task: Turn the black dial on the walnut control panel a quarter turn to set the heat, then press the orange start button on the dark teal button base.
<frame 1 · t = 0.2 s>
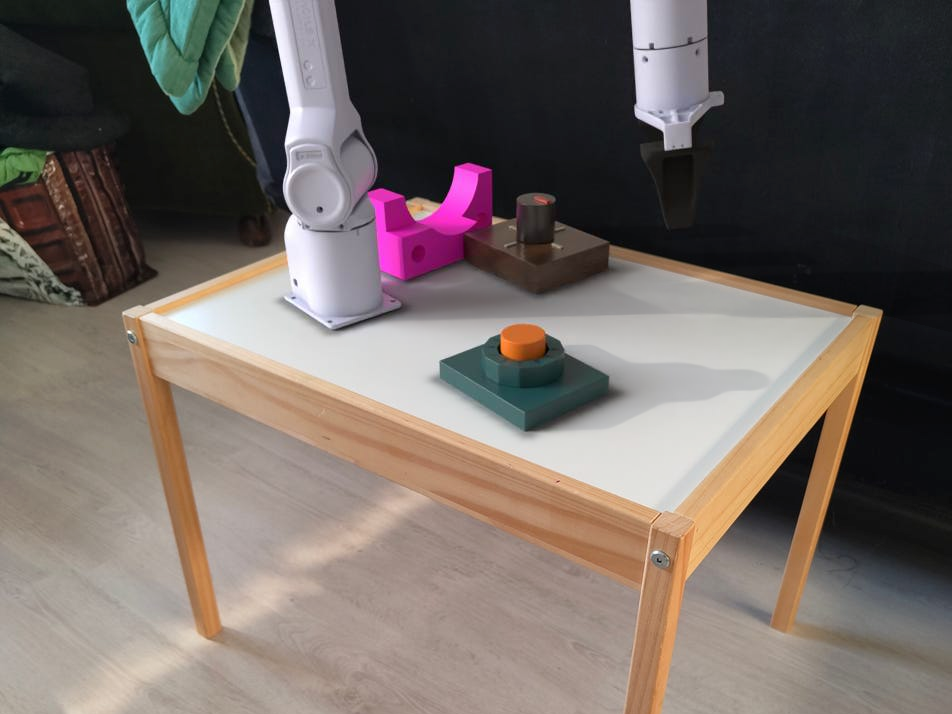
hand: (677, 211, 78), 10 cm above the table, tool pointing down, fingers open, 7 cm apart
button base: (522, 386, 74), on the table
start button: (523, 343, 72), point 4 cm above the table, slide at 0.1 cm
toy block: (439, 254, 98), on the table, touching dial panel
dial panel: (534, 264, 95), on the table
heat dial: (535, 216, 92), point 5 cm above the table, hinge at 0.0°
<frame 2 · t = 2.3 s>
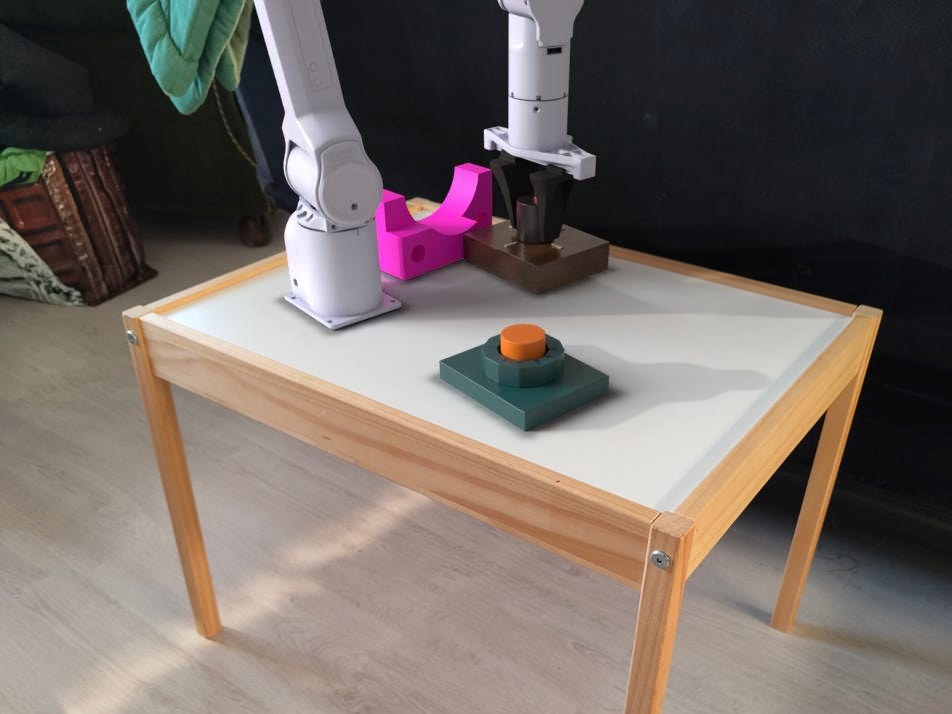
hand: (535, 232, 93), 4 cm above the table, tool pointing down, fingers closed on heat dial, 4 cm apart
heat dial: (535, 216, 92), point 5 cm above the table, hinge at 0.0°, touching gripper
everything else where it was.
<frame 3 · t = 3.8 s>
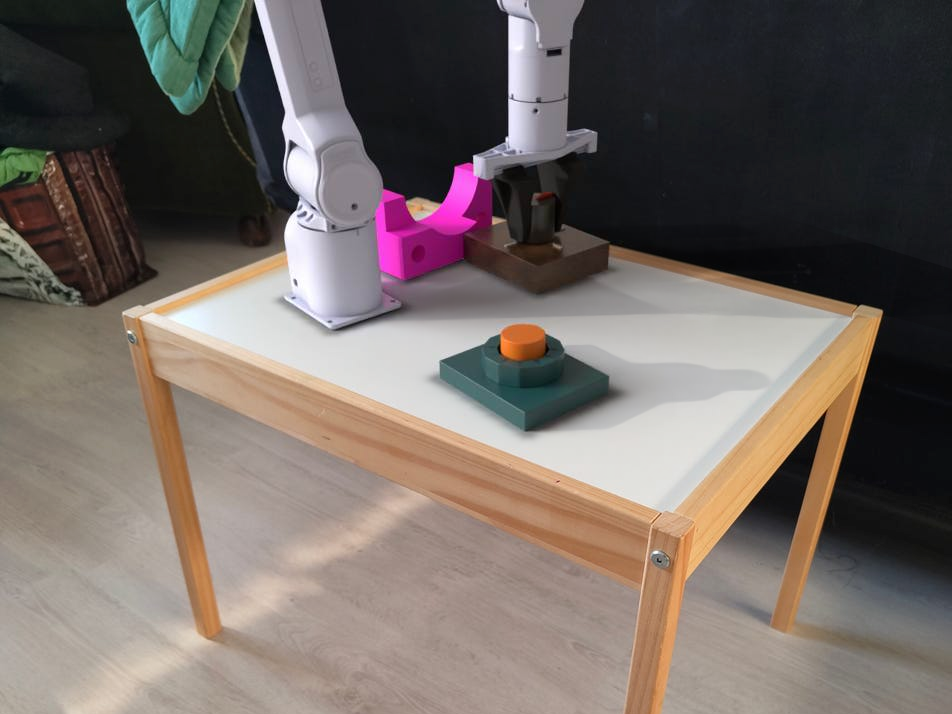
hand: (535, 234, 94), 3 cm above the table, tool pointing down, fingers closed on heat dial, 4 cm apart
heat dial: (535, 216, 92), point 5 cm above the table, hinge at 89.5°, touching gripper
everything else where it was.
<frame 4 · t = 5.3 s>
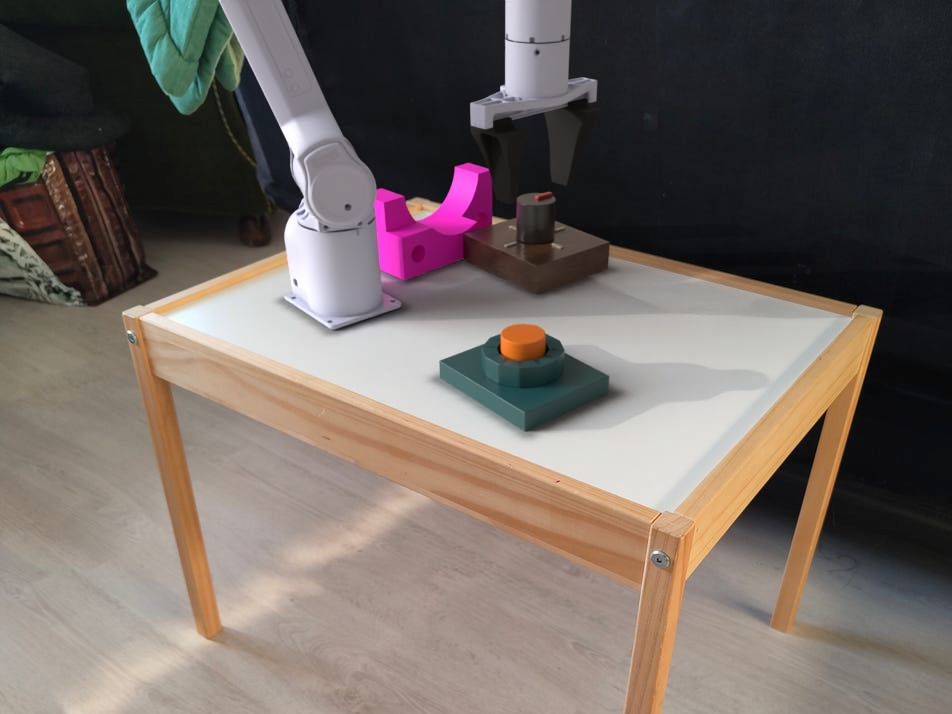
hand: (534, 192, 87), 9 cm above the table, tool pointing down, fingers open, 7 cm apart
heat dial: (535, 216, 92), point 5 cm above the table, hinge at 89.4°
everything else where it was.
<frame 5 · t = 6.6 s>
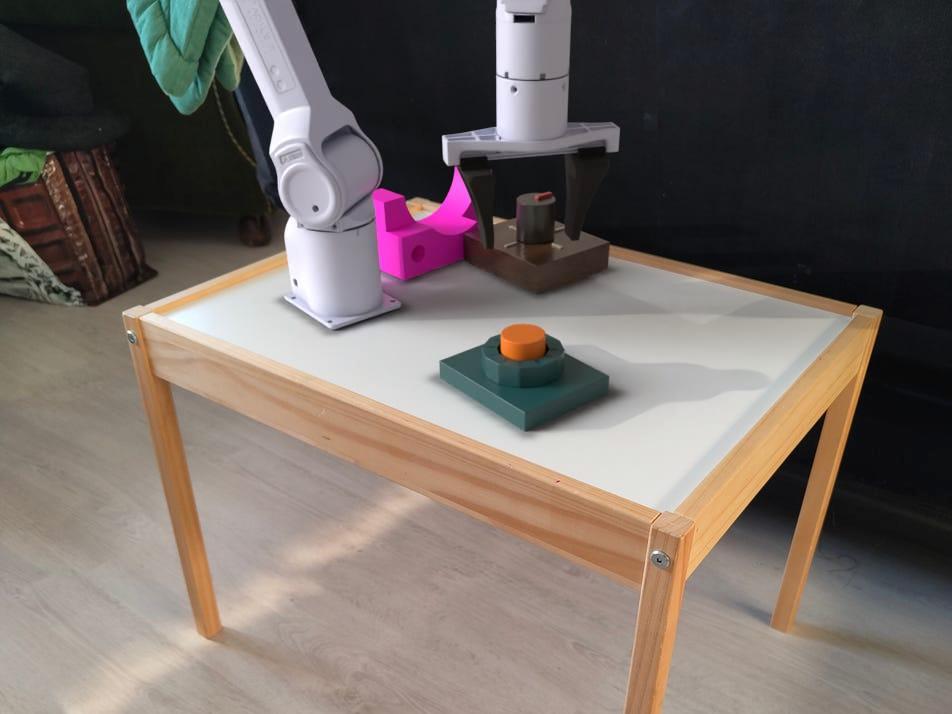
hand: (530, 241, 78), 8 cm above the table, tool pointing down, fingers open, 7 cm apart
nothing on the table moved.
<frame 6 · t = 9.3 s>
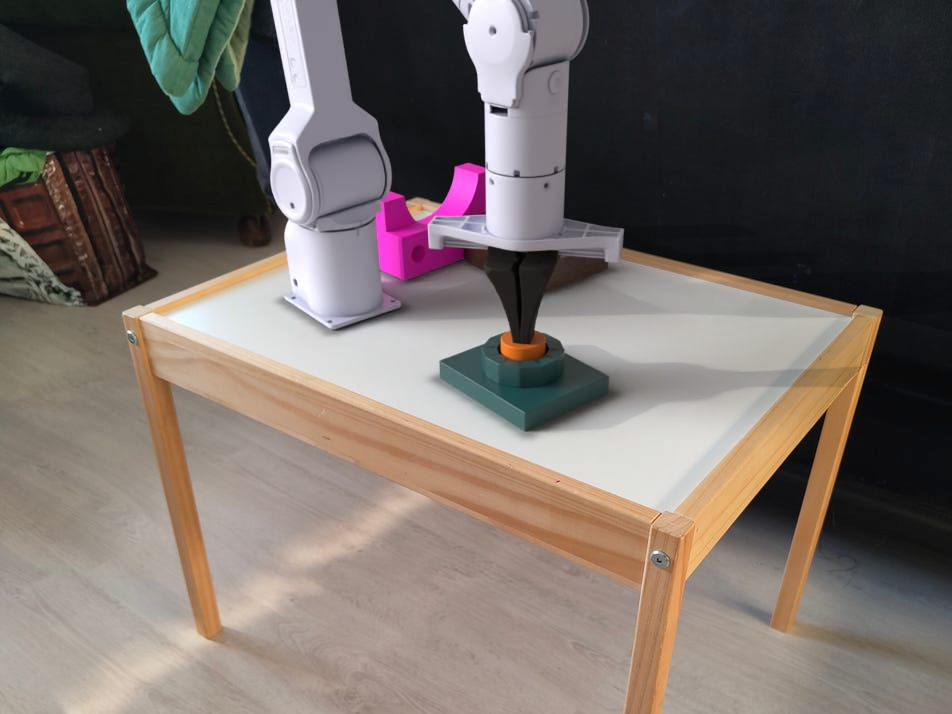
hand: (523, 338, 72), 4 cm above the table, tool pointing down, fingers closed, pressing on start button
start button: (523, 347, 72), point 4 cm above the table, slide at -0.3 cm, touching gripper
everything else where it was.
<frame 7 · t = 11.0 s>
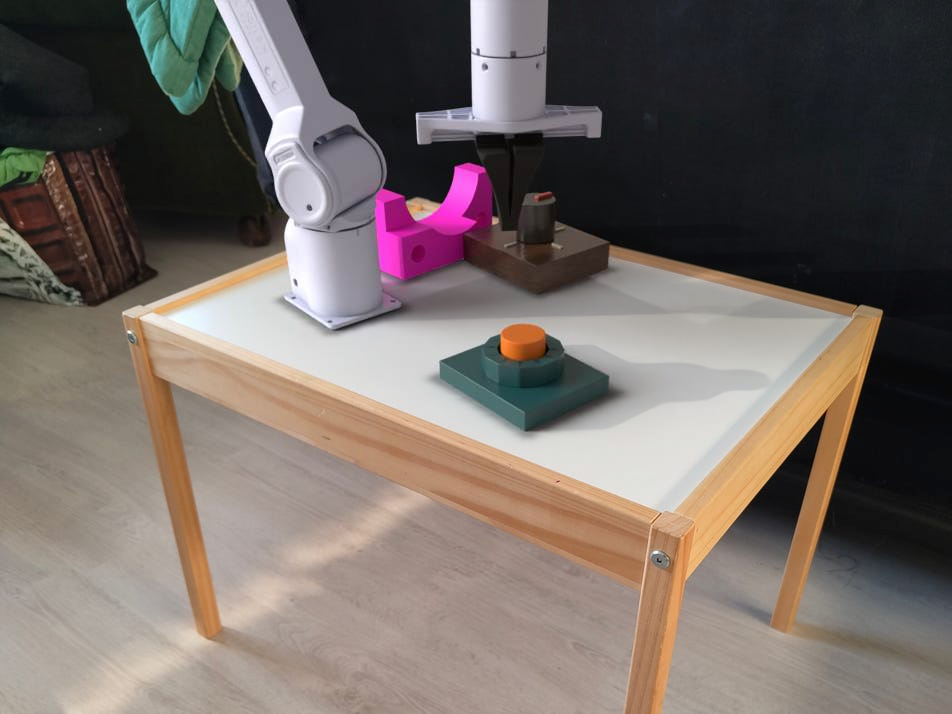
hand: (508, 227, 76), 10 cm above the table, tool pointing down, fingers closed
start button: (523, 343, 72), point 4 cm above the table, slide at 0.1 cm
everything else where it was.
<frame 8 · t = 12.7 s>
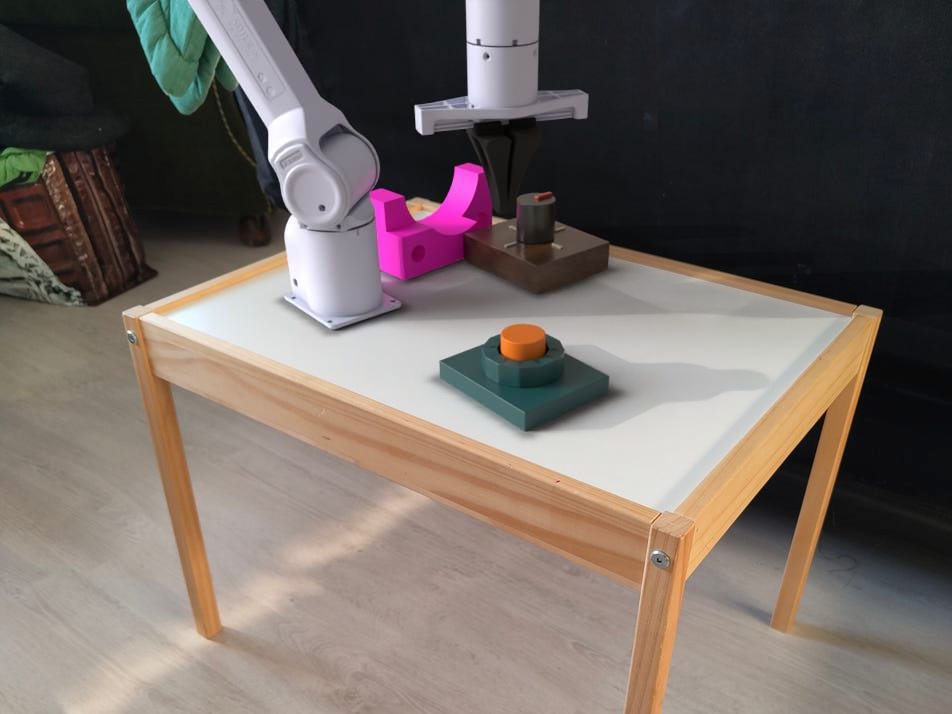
hand: (502, 210, 79), 10 cm above the table, tool pointing down, fingers closed
nothing on the table moved.
at the end: heat dial at +89° (first picture: +0°); start button pushed in 1.2 cm at the most during the clip, back to where it started at the end; start button slide at 0.1 cm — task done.
